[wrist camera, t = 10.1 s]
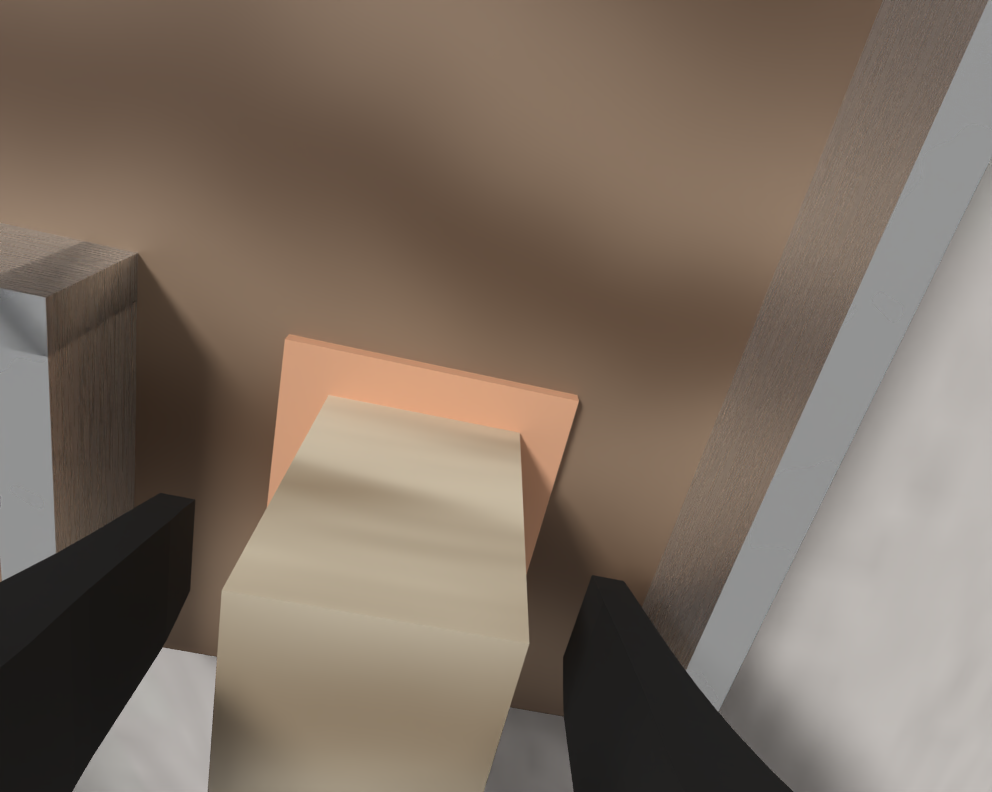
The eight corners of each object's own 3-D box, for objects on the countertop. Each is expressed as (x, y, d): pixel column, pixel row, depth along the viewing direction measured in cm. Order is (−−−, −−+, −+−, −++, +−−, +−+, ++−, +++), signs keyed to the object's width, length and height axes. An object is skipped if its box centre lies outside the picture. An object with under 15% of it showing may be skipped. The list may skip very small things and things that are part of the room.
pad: (511, 614, 17) (511, 623, 17) (263, 568, 17) (259, 577, 16) (577, 395, 15) (578, 401, 14) (289, 334, 14) (284, 339, 14)
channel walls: (656, 673, 18) (684, 781, 15) (-178, 523, 16) (-316, 614, 13) (1152, -484, 9) (1421, -715, 7) (-500, -1047, 8) (-1053, -1668, 5)
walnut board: (678, 706, 20) (686, 737, 19) (-214, 549, 18) (-252, 575, 17) (1231, -499, 10) (1304, -558, 9) (-609, -1138, 8) (-751, -1293, 7)
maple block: (480, 582, 16) (469, 837, 11) (308, 551, 16) (207, 798, 11) (519, 432, 15) (528, 644, 9) (328, 395, 14) (221, 590, 9)
